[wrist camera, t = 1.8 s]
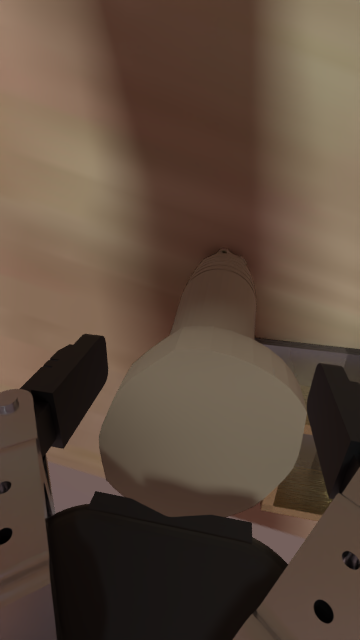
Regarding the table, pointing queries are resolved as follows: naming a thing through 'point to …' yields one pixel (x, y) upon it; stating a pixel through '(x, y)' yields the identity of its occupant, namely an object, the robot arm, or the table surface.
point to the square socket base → (306, 430)
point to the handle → (205, 406)
